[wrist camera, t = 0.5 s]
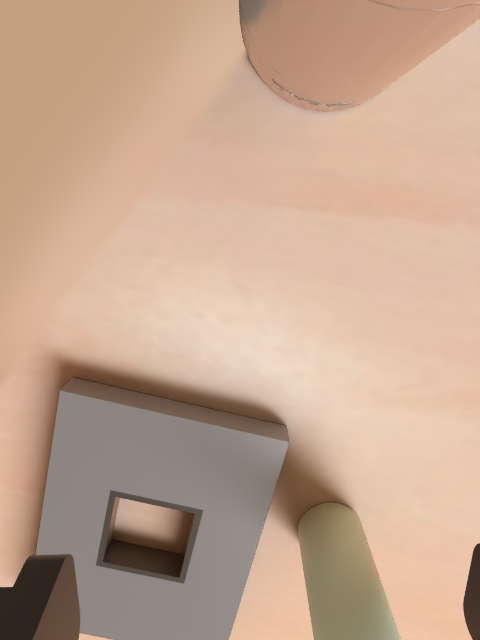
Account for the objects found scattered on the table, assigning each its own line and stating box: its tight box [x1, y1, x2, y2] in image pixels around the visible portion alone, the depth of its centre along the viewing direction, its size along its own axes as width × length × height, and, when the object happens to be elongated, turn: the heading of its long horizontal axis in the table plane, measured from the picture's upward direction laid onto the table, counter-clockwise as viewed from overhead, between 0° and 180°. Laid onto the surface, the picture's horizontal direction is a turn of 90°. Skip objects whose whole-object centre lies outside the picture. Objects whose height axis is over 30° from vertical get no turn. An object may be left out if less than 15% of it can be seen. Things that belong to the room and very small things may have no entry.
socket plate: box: [36, 377, 289, 640], centre depth 31 cm, size 18×14×2 cm
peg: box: [298, 502, 401, 640], centre depth 27 cm, size 4×4×10 cm
